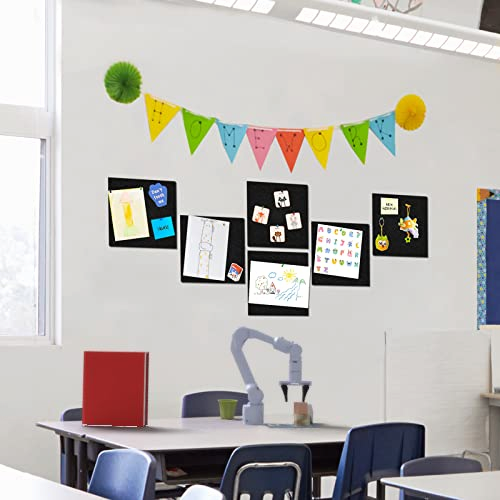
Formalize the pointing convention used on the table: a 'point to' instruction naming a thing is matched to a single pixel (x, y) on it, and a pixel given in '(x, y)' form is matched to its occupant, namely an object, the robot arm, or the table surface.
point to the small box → (310, 412)
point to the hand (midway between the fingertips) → (294, 402)
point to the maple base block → (301, 419)
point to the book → (115, 388)
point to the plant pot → (227, 408)
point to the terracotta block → (300, 408)
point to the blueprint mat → (292, 426)
